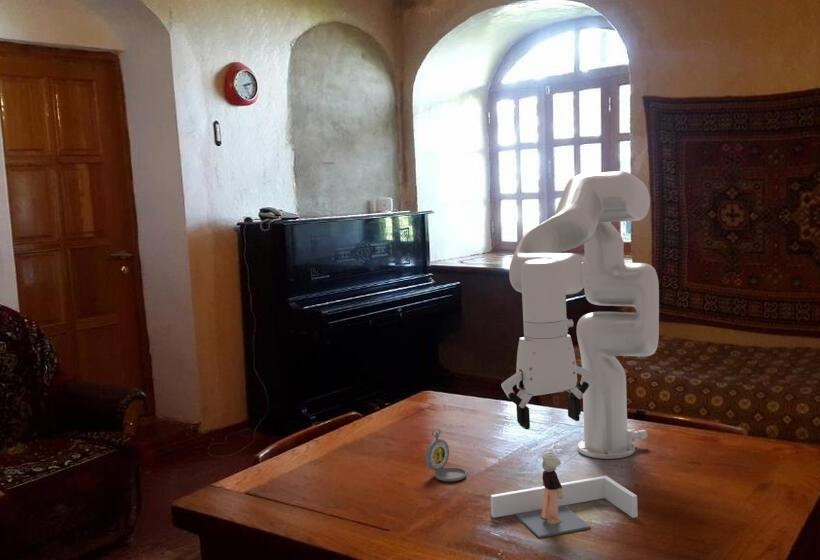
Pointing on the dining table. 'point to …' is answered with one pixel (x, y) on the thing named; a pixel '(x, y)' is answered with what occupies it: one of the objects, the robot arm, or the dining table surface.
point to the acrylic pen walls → (566, 497)
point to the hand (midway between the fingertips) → (549, 423)
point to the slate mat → (543, 529)
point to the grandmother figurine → (551, 488)
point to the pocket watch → (442, 461)
